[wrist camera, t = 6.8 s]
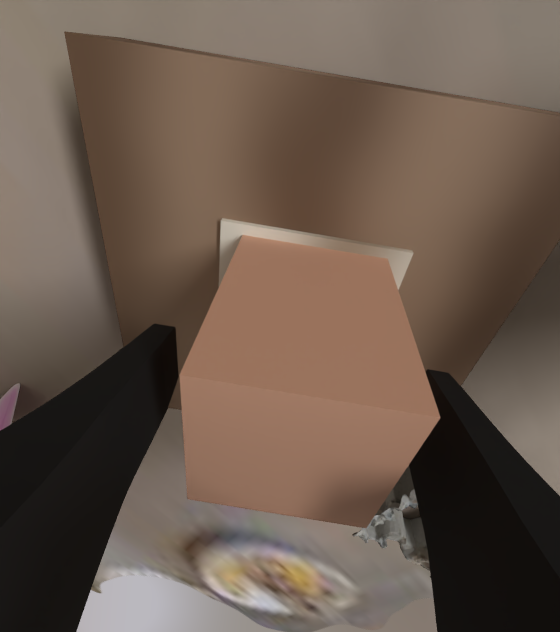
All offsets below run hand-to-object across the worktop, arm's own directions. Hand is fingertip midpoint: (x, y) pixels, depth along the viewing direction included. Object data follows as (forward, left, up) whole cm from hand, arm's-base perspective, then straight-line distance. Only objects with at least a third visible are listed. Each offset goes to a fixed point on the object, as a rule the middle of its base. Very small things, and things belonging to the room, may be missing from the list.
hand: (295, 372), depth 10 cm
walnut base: (0, 0, -6) cm, 6 cm away
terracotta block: (0, 0, -3) cm, 3 cm away
